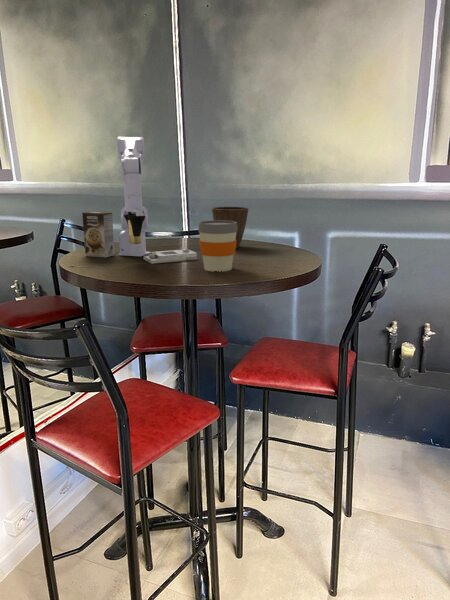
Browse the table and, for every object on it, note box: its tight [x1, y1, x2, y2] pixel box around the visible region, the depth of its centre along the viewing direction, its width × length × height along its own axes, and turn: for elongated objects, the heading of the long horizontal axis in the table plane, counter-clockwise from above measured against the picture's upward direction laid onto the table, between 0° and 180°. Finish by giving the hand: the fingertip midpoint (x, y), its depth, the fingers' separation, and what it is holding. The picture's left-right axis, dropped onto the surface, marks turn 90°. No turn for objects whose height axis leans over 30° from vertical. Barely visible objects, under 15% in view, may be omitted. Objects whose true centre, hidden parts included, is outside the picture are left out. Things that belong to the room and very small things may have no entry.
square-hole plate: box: [143, 248, 198, 265], centre depth 168 cm, size 17×9×3 cm, turn 116°
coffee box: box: [81, 211, 115, 259], centre depth 174 cm, size 9×6×16 cm
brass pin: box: [128, 220, 141, 244], centre depth 160 cm, size 4×4×8 cm
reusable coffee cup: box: [197, 220, 237, 273], centre depth 151 cm, size 13×13×15 cm
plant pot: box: [211, 206, 249, 249], centre depth 192 cm, size 15×15×16 cm
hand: (135, 235), depth 161 cm, fingers closed on brass pin, 4 cm apart
